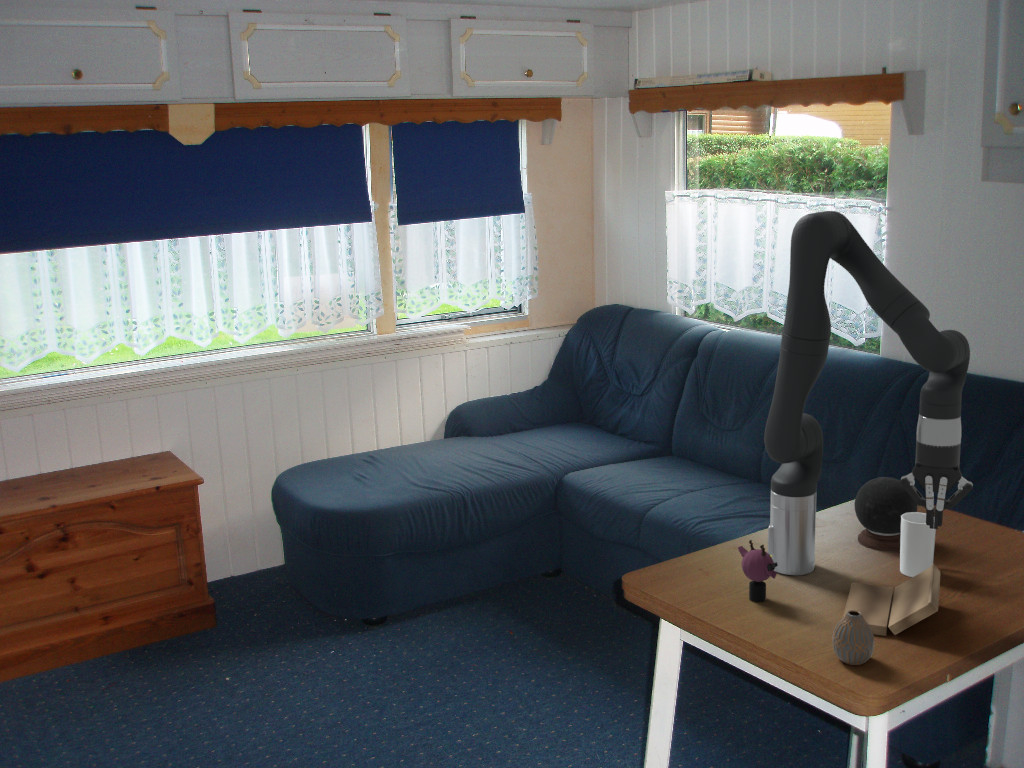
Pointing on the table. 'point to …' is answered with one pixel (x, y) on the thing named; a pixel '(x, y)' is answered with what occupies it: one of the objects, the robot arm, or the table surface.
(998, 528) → the table surface
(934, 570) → the board
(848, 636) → the vase
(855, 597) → the fixed plank
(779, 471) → the robot arm
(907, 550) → the mug
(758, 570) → the figurine
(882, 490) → the black sphere on base
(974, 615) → the table surface
